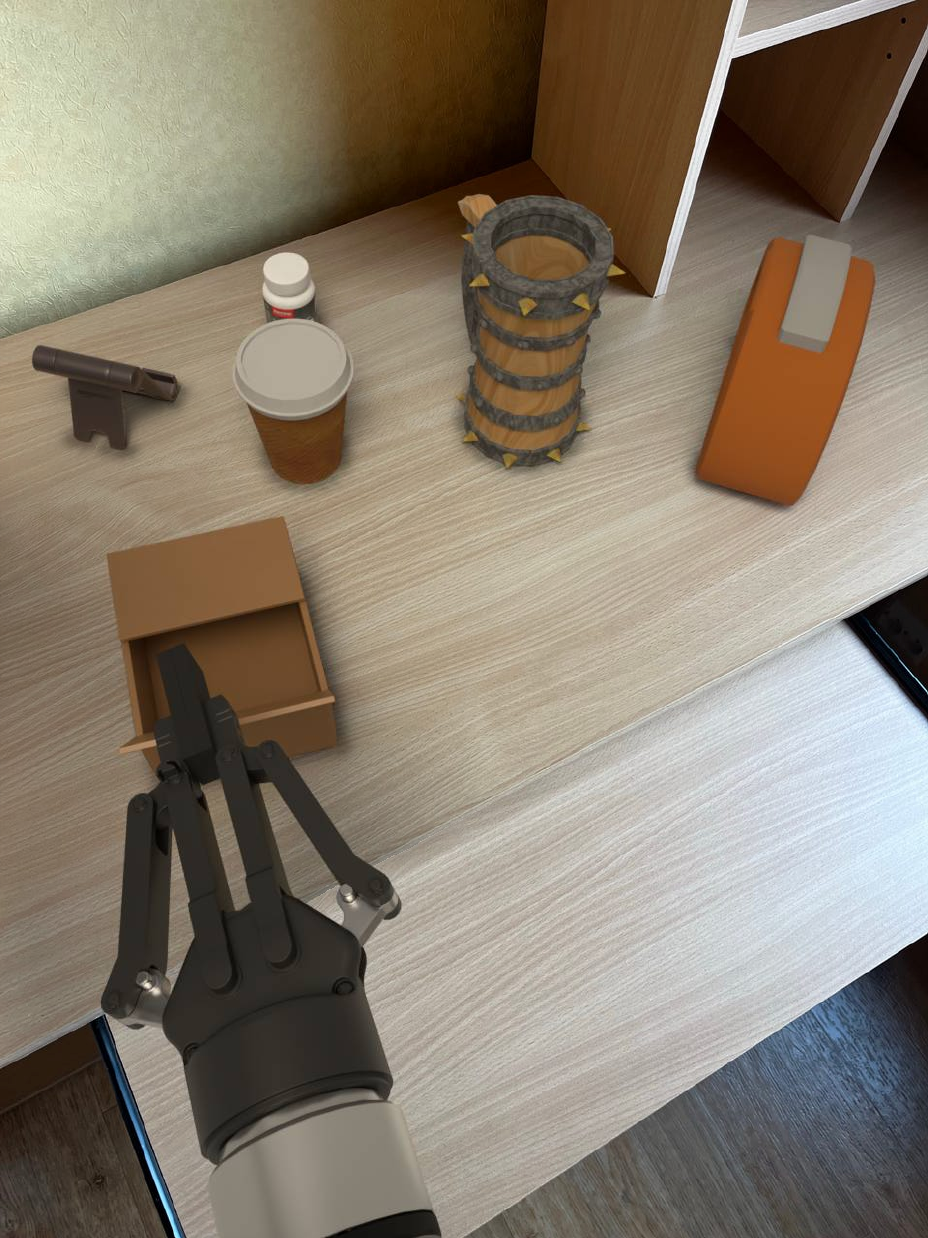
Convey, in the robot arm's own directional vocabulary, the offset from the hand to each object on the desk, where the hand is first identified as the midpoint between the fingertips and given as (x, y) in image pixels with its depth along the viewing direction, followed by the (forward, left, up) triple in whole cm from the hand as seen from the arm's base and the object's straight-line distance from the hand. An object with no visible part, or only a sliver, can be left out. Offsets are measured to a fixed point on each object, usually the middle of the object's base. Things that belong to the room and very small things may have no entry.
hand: (180, 663), depth 54 cm
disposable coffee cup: (+11, +32, -26) cm, 42 cm away
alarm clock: (+52, +26, -26) cm, 64 cm away
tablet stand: (-4, +41, -26) cm, 49 cm away
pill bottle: (+13, +46, -26) cm, 54 cm away
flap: (+1, +3, -13) cm, 13 cm away
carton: (+1, +12, -26) cm, 28 cm away
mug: (+30, +33, -26) cm, 52 cm away
